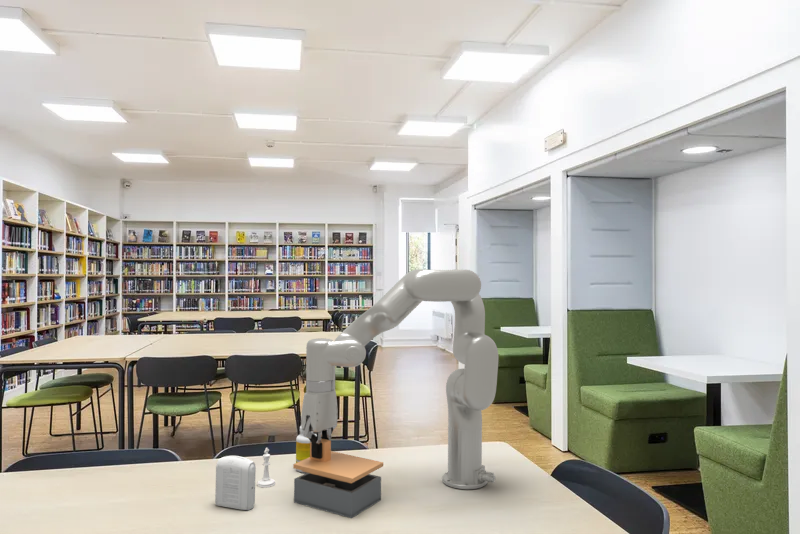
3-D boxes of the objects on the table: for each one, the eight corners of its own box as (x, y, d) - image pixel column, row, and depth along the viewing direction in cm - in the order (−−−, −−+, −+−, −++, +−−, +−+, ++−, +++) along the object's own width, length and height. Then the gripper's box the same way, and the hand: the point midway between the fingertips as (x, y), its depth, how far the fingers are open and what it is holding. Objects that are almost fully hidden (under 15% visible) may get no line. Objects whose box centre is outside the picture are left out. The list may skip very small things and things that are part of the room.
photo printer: (257, 505, 143) (258, 456, 143) (248, 512, 139) (248, 461, 139) (222, 500, 146) (223, 451, 146) (212, 506, 142) (213, 456, 142)
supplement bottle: (313, 474, 165) (314, 430, 165) (292, 472, 166) (292, 428, 167) (321, 466, 172) (321, 424, 172) (300, 465, 173) (301, 422, 173)
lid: (383, 470, 147) (383, 443, 147) (352, 487, 135) (352, 457, 135) (326, 457, 157) (326, 431, 157) (293, 472, 145) (293, 444, 145)
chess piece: (278, 482, 158) (279, 446, 159) (267, 488, 154) (268, 451, 154) (264, 479, 161) (265, 444, 161) (253, 485, 156) (253, 449, 156)
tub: (380, 500, 147) (381, 476, 147) (351, 518, 136) (351, 493, 136) (325, 486, 156) (326, 464, 156) (294, 502, 145) (294, 478, 145)
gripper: (328, 379, 158) (328, 446, 158) (289, 389, 144) (289, 462, 144) (350, 382, 154) (350, 450, 154) (312, 393, 140) (312, 467, 140)
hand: (320, 455), depth 149 cm, fingers closed on lid
